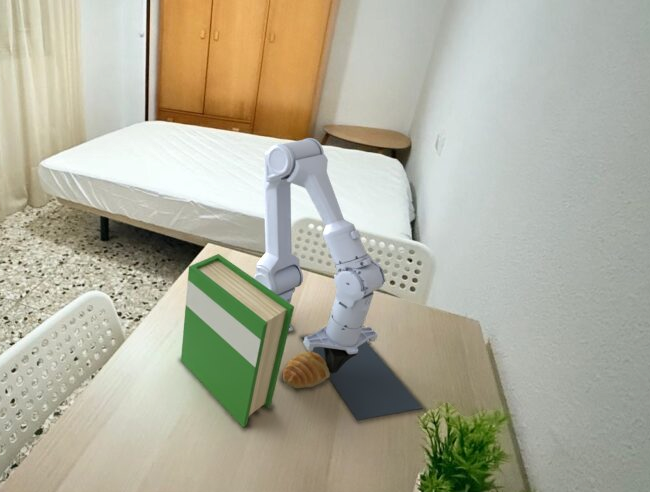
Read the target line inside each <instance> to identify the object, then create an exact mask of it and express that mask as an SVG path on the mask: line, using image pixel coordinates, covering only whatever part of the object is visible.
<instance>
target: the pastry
mask: <svg viewBox="0 0 650 492" xmlns="http://www.w3.org/2000/svg"><path fill="white" fill-rule="evenodd" d="M329 376H330V373H329V369H328V367H327V364H326V362H325V360H324V359H323V358H322V357H321V356H320V355H319V354H317V353H314V352H313V351H308V350H307V351H305V352H302V353H298V354H297V355H295V356H294V357H292V358H291V359H290V360H289V362H288V363H287V365H286V367H285V368H284V369H283V372H282V380H283V382H284V383H285V384H287V386H290V387H291V388H293V389H297V390H298V389H303V388H307V389H309V388H314V387H315V386H317V385H320V384H321V383H323V382H324V381H326V380H327V379H329Z"/></svg>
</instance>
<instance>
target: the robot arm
mask: <svg viewBox="0 0 650 492" xmlns="http://www.w3.org/2000/svg"><path fill="white" fill-rule="evenodd" d="M328 161H329V160H328V157H327V156H326V154H325V152H324V148H323V145H322V144H321V143H320V142H319V140H317V139H315V138H313V137H307V138H304V139H301V140H295V141H289V142H285V143H276V144H273V146H271V147H270V148H269V149H268V150H266V151H265V153H264V171H263V177H262V181H263V184H262V185H263V209H264V211H263V212H264V213H263V214H264V215H263V216H264V237H265V238H264V241H265V245H264V246H265V253H264V254H263V256H262V257H261V258H260V259H259V260H258V262H257V263H256V271H255V273H254V277H253V278H254V279H255V280H257V281H258V282H260V283H261V284H263V285H264V286H265V287H267V288H268V289H270V290H271V291H273V292H274V293H276V294H277V295H278V296H280V297H281V298H283V299H284V300H286V301H287V302H288V303H290V304H291V302H292V298H293V294H294V293H295V291H296V288H298V287H300V286H302V284H303V282H304V274H303V271H302V268H301V265H300V258H299V257H298V256H297V255H295V254H293V253H292V251H293V250H292V249H293V248H292V195H291V191H292V190H291V188H292V187H291V184H292V185H296V186H299V187H301V188H304V189H305V190H306V192H307V194H308V196H309V197H310V198H309V199H310V200H311V202H312V203H313V205H314V207H315V209H316V211H317V213H318V215H319V217H320V218H321V221H322V222H323V225H324V229H323V232H322V234H321V235H322V238H323V240H324V242H325V245H326V247H327V250H328V252H329V254H330V257H331V259H332V261H333V264H334V266H335V269H336V270H337V273H336V274H334V276H333V281H334V285H335V288H336V292H335V297H334V301H333V304H332V308H331V312H330V315H329V318H328V321H327V325H326V326H324V327H323V328H321V329H318V330H317V331H315V332H313V333H312V334H309V335H305V336H304V337H305V338H304V341H303V342H302V345H304V347H305V349H306V350H307V351H312V350H313V348H314V347H323V348H324V352H325V362H326V364H327V367H328V369H329V372H330V373H336V372H337V371H338V370H339V369H340V368H341V366H342V365H343V364H344V363H345V362H346V361H347V360H349V359H350V358H352V357H353V356H356V355H357V352H358V348H357V347H358V346H360V345H361V344H363V343H364V342H368V341H369V342H370V343H374V342H375V343H376V341H377V338H378V333H377V332H376V331H375V329H373V328H372V327H371V326H369V327H368V326H367V327H366V326H365V327H364V325H365V321H366V318H367V315H368V312H369V310H370V307H371V304H372V301H373V297H374V295H375V294H374V293H375V292H376V291H378V290H379V289H381V288H382V287H383V285H384V284H385V279H386V276H385V273H384V269H383V267H382V266H381V265H380V263H378V262H377V261H376V260H374V259H373V258H372V256H371V255H369V253H367V251H366V249H365V247H364V244H363V242H362V240H361V237H362V235H361V233H360V232H359V230H358V229H356V227H355V224H354V223H352V222H350V221H348V220H346V219H345V218H344V216H343V213H342V210H341V207H340V203H339V202H338V199H337V197H336V194H335V191H334V188H333V185H332V182H331V180H330V177H329V174H328ZM293 330H294V329H293V327H292V325H291V324H290V327H289V331H288V333H289V332H293Z"/></svg>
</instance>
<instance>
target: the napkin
mask: <svg viewBox="0 0 650 492" xmlns="http://www.w3.org/2000/svg"><path fill="white" fill-rule="evenodd" d="M304 338H305V336H302V337H301V339H302V341H303V342H304ZM357 348H358V352H357V355H356V356H353V357H352V358H350V359H349V360H347V361H346V362H345V363H344V364H343V365H342V366H341V368H340V369H339V370H338V371H337V372H336V373H330V372H329V373H330V376H329V378H328V379H329V381H330V382H331V384H332V386H333V387H334V388H335V390H336V391H337V393H338V395H339V396H340V397H341V399H342V401H343V402H344V403H345V405H346V406H347V407H348V409H349V410H350V412H351V413H352V415H353V416H354V418H355V420H356V421H362V420H367V419H368V420H369V419H373V418H378V417H384V416H390V415H395V414H399V413H405V412H411V411H417V410H421V409H423V406H422V405H421V404H420V402H418V400H417V399H416V398H415V396H414V395H413V394H412V393H411V392H410V391H409V389H408V388H407V387H406V386H405V385H404V384H403V383H402V382H401V380H400V379H399V378H398V377H397V376H396V374H395V373H394V372H393V371H392V370H391V368H389V366H388V365H387V364H386V363H385V361H384V360H383V359H382V358H381V357H380V355H379V354H378V353H377V352H376V351H375V350H374V349H373V347H372V346H371V345H370V344H369V343H368V341H366V342H364V343H363V344H361V345H360V346H358V347H357ZM312 351H313V352H314V353H317V354H319V355H320V356H321V357H322V358H323V359H324V360H325V352H324V348H323V347H314V348H313V350H312Z"/></svg>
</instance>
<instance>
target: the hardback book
mask: <svg viewBox="0 0 650 492" xmlns="http://www.w3.org/2000/svg"><path fill="white" fill-rule="evenodd" d="M187 273H188V274H187V285H186V297H185V307H184V308H185V309H184V321H183V332H182V343H181V344H182V345H181V356H180V361H181V362H182V363H183V365H185V367H186V368H187V369H188V370H189V371H190V372H191V373H192V374H193V375H194V376H195V377H196V379H197V380H198V381H199V382H200V383H201V384H202V385H203V386H204V387H205V388H206V390H208V391H209V392H210V394H211V395H212V396H213V397H214V398H215V399H216V400H217V401H218V402H219V403H220V404H221V405H222V407H224V409H226V411H227V412H228V413H229V414H230V415H231V416H232V417H233V418H234V419H235V420H236V421H237V423H239V425H240V426H241V427H242V428H245V427H246V426H247V425H248V421H249V417H250V416H251V415H252V414H253V413H255V412H257V410H259V409H261V408H262V406H264V407H265V408H266V409H269V408H270V407H271V406H272V403H273V399H274V394H275V390H276V386H277V381H278V377H279V374H280V373H279V372H280V368H281V364H282V360H283V356H284V351H285V347H286V343H287V339H288V336H289V332H288V331H289V327H290V325H291V322H292V318H293V314H294V310H295V305H293V304H291V303H288V302H287V301H286V300H284V299H283V298H281V297H280V296H278V295H277V294H276V293H274V292H273V291H271V290H270V289H268V288H267V287H265V286H264V285H263V284H261V283H260V282H258V281H257V280H255V279H254V277H253V276H251V275H250V274H249V273H247V272H245V270H243V269H241V268H240V267H238V266H236V265H235V264H234V263H233V262H231V261H229V260H228V259H227V258H225V257H224V256H223V255H222V254H219V253H217V254H215V255H213V256H210V257H208V258H206V259H203V260H201V261H198V262H196V263H193V264H192V265H189V266H188V272H187Z"/></svg>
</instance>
